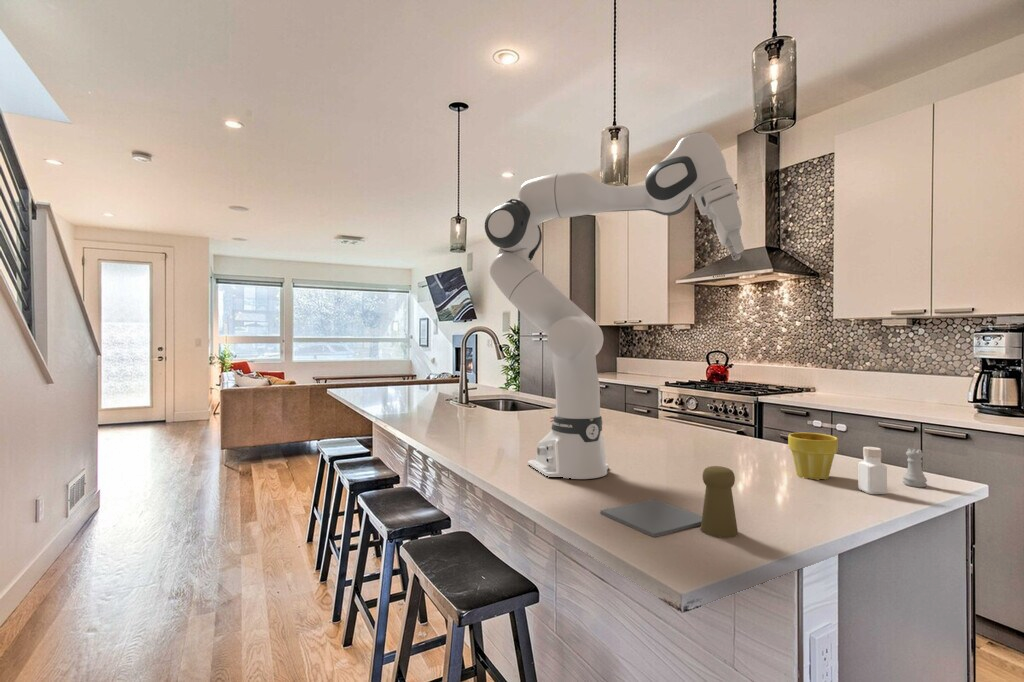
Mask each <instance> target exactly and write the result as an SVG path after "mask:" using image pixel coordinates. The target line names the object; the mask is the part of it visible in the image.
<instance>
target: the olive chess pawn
mask: <svg viewBox="0 0 1024 682" xmlns="http://www.w3.org/2000/svg"><path fill="white" fill-rule="evenodd" d="M735 479H736V476H735V473H734V471H733V470H732V469H730V468H728V467H725V466H722V465H721V466H719V465H711V466H707V467H705V468H704V470H703V472H702V481H703V483H704V485H705V493H704V500H703V507H702V509H703V510H702V515H701V516H702V522H701V525H700V531H701V532H702V533H704V535H707V536H711V537H713V538H714V537H715V538H722V539H723V538H724V539H729V538H731V539H732V538H734V537H737V536H738V535H739V532H738V523H737V518H736V517H737V516H736V510H735V509H736V508H735V505H734V498H733V497H734V496H733V489H732V488H733V487H734V486H735V483H736V482H735V481H736V480H735Z"/></svg>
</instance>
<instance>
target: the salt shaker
mask: <svg viewBox="0 0 1024 682" xmlns="http://www.w3.org/2000/svg"><path fill="white" fill-rule="evenodd" d="M862 453H863V454H862V455H863V461H860V462H858V464H857V476H858V477H857V479H858V480H857V481H858V486H857V487H858V490H859V491H861V490H862V492H864V493H866V494H869V495H887V494H888V467H887V465H886V464H884V463H882V448H880V447H877V446H876V447H875V446H863V448H862Z"/></svg>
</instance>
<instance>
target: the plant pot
mask: <svg viewBox="0 0 1024 682" xmlns="http://www.w3.org/2000/svg"><path fill="white" fill-rule="evenodd" d="M787 447H788V449H789V450H790V451H791V455H792V457H793V464H794V468H795V472H796V476H798V477H799V476H800V477H799V478H802V477H804V478H803V479H806V478H810V479H809V480H812V479H825V480H828V479H829V477H830V474H831V469H832V466H833V461H834V458H835V455H836V454H837V453H838V451H839V450H838V449H839V439H838V437H836V436H834V435H830V434H827V433H826V434H825V433H817V432H802V431H800V432H792V433H791V432H790V433H789V434H788V436H787ZM827 478H828V479H827Z"/></svg>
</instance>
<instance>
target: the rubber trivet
mask: <svg viewBox="0 0 1024 682" xmlns="http://www.w3.org/2000/svg"><path fill="white" fill-rule="evenodd" d="M600 513H601V515H603V516H605V517H607V516H608V518H609V519H612V520H615V521H617V522H619V523H621V524H622V525H626V526H628V527H631V528H633V529H635V530H636V531H639V532H641V533H643V534H646V535H648V536H650V537H651V538H652V537H653V538H657V537H661V536H664V535H669V534H672V533H675V532H679V531H680V532H681V531H683V530H687V529H691V528H695V527H699V526H701V522H702V515H700V514H697V513H695V512H692V511H689V510H687V509H684V508H681V507H677V506H675V505H672V504H670V503H667V502H665V501H662V500H658V499H655V498H653V499H647V500H643V501H637V502H634V503H628V504H624V505H623V504H622V505H621V506H620V505H619V506H614V507H610V508H605V509H600Z"/></svg>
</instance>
